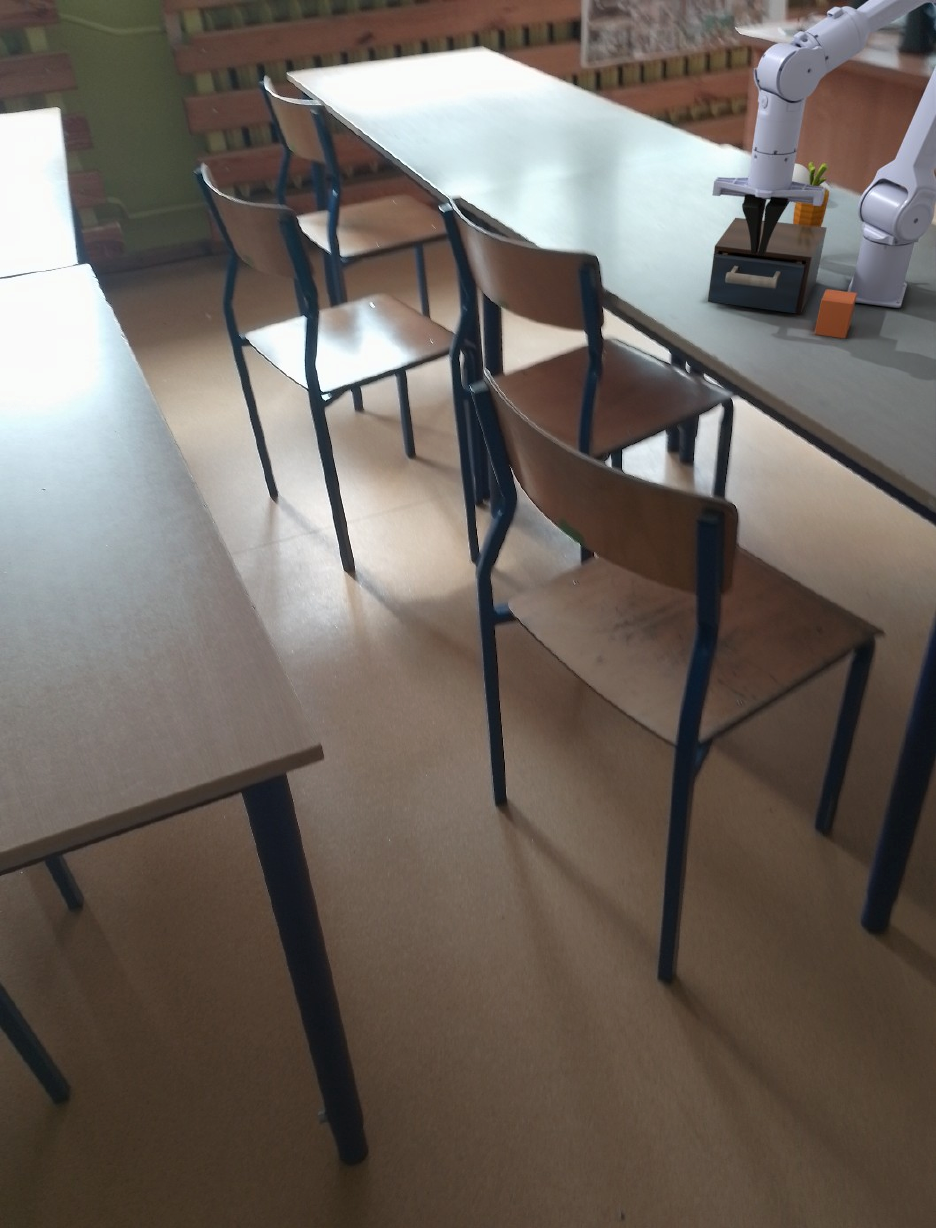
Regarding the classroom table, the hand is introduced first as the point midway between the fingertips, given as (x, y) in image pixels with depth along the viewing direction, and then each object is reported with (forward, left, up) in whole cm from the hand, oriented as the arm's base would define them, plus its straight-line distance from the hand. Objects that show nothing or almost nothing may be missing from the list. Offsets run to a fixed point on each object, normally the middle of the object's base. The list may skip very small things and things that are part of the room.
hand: (758, 252), depth 138 cm
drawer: (-5, 0, -9) cm, 10 cm away
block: (+1, +12, -9) cm, 15 cm away
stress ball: (-59, -4, -10) cm, 60 cm away
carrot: (-26, +3, -10) cm, 28 cm away
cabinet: (-10, 0, -9) cm, 14 cm away
